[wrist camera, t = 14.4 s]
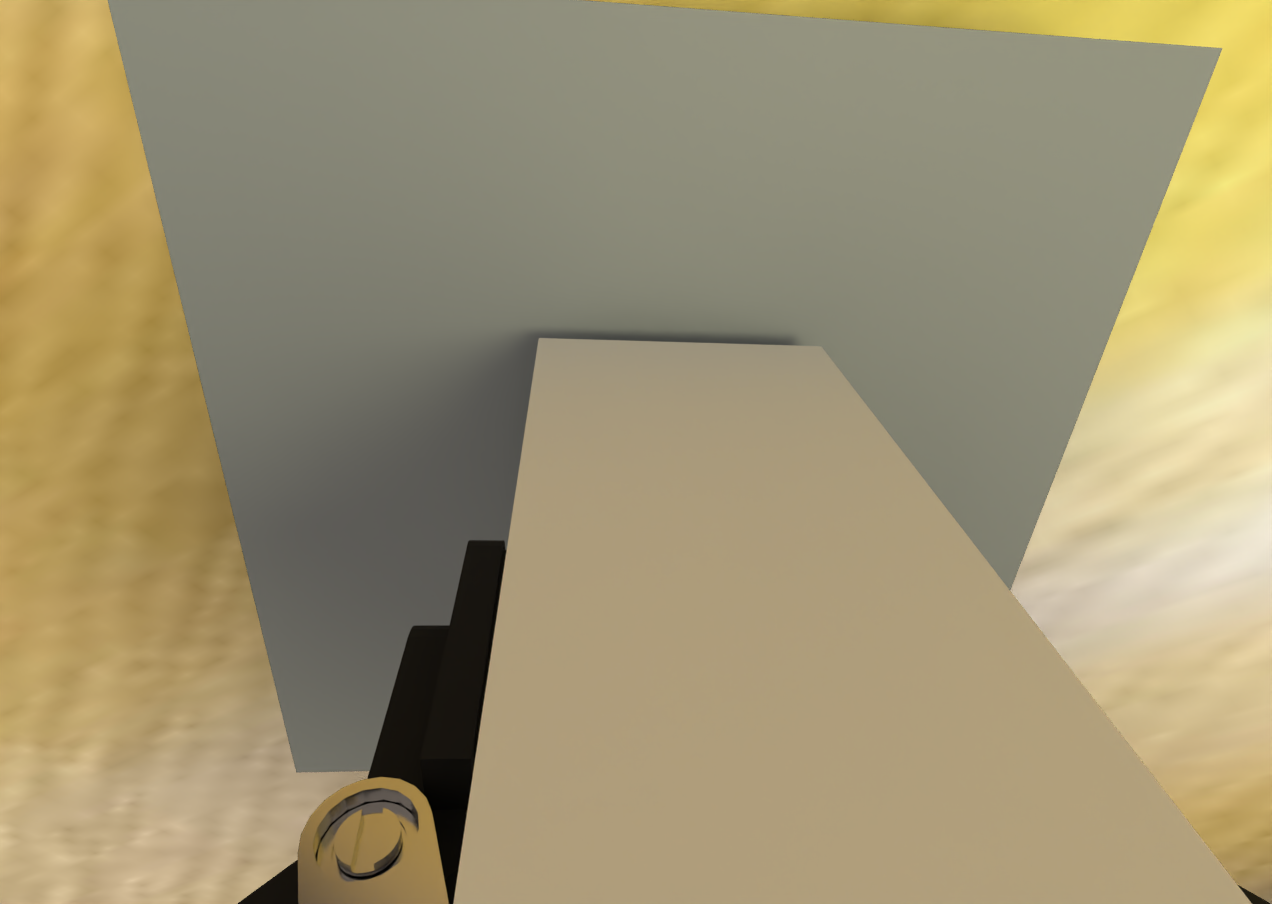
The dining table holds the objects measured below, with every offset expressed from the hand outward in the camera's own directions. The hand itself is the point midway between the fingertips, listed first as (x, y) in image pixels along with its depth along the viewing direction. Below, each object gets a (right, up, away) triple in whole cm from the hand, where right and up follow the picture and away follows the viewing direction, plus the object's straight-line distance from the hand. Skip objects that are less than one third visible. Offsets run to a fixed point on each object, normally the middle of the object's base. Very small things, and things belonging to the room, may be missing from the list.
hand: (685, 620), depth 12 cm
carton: (0, +2, +3) cm, 3 cm away
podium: (-1, +4, +7) cm, 8 cm away
